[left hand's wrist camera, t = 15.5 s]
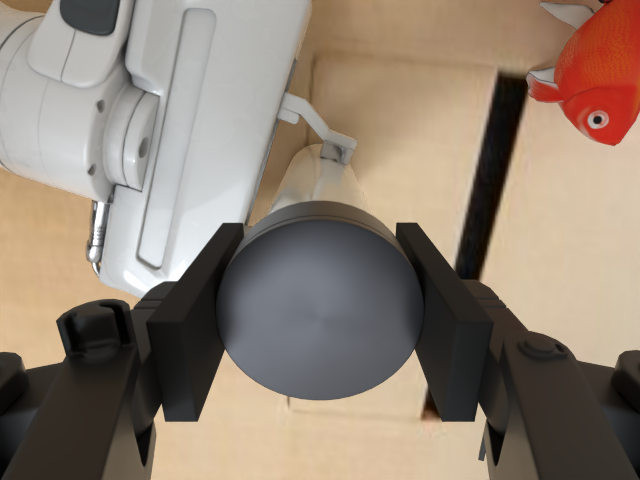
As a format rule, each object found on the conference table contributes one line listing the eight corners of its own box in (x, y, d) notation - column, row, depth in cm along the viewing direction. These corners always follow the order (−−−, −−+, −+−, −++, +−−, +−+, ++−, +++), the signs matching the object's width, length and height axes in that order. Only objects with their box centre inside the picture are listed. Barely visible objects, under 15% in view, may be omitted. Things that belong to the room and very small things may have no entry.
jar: (295, 213, 29) (259, 387, 12) (280, 151, 28) (210, 245, 10) (357, 201, 29) (416, 361, 11) (345, 136, 27) (394, 208, 10)
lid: (445, 294, 12) (466, 327, 10) (312, 386, 13) (311, 430, 12) (329, 159, 10) (331, 171, 9) (192, 278, 12) (170, 311, 10)
